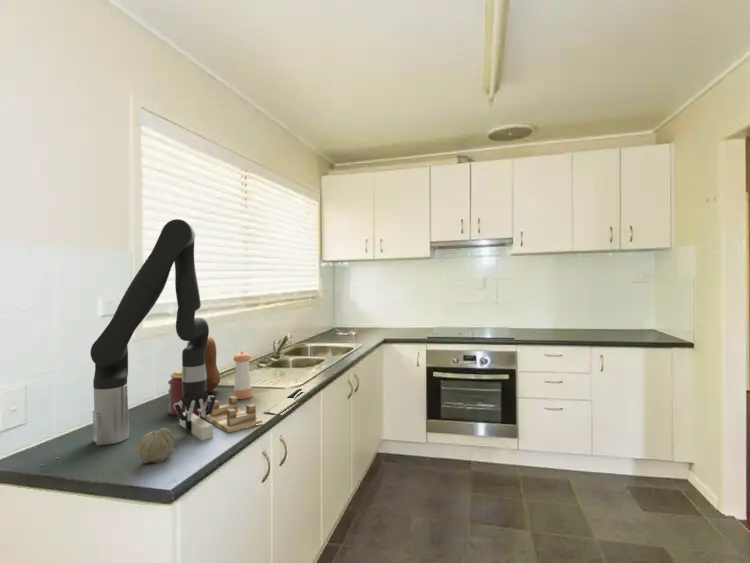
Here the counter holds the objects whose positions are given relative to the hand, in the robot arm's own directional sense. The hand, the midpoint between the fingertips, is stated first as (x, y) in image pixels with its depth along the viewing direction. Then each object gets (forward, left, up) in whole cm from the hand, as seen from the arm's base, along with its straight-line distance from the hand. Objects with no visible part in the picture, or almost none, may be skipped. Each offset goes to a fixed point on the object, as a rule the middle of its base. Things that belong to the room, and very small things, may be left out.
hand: (195, 429), depth 148 cm
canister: (+6, +24, -1) cm, 25 cm away
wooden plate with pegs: (+13, 0, 0) cm, 13 cm away
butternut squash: (+20, +44, -1) cm, 48 cm away
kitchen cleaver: (+40, +5, -1) cm, 40 cm away
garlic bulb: (-17, -16, -1) cm, 23 cm away
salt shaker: (+30, +27, -1) cm, 40 cm away
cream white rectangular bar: (0, 0, 0) cm, 0 cm away
